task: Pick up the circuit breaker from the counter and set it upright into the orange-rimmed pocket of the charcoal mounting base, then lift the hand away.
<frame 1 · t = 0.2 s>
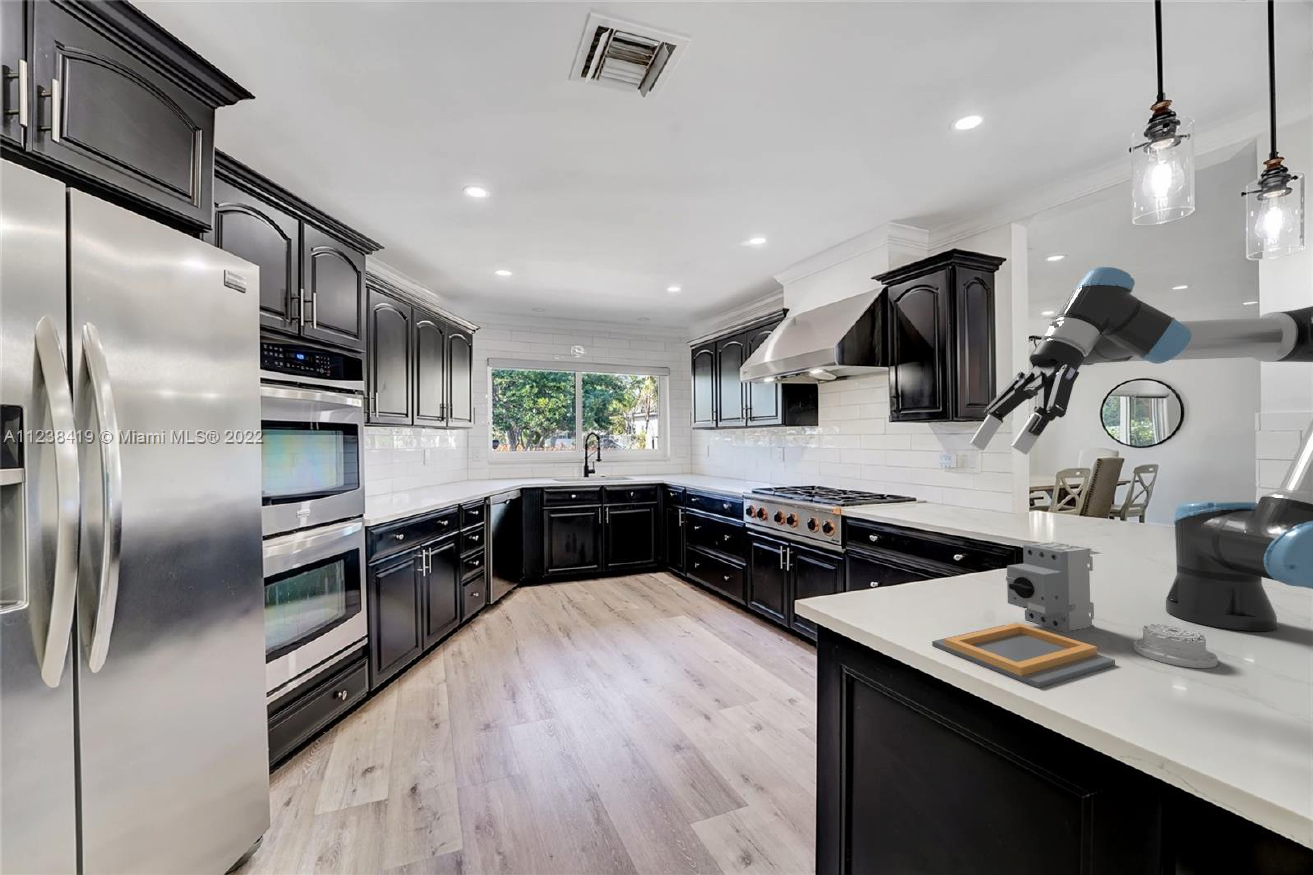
hand: (996, 448, 98), 35 cm above the counter, tool tilted 35°, fingers open, 13 cm apart
mechanical component: (1174, 658, 89), on the counter
circuit breaker: (1047, 626, 104), on the counter
mounting base: (1019, 654, 91), on the counter
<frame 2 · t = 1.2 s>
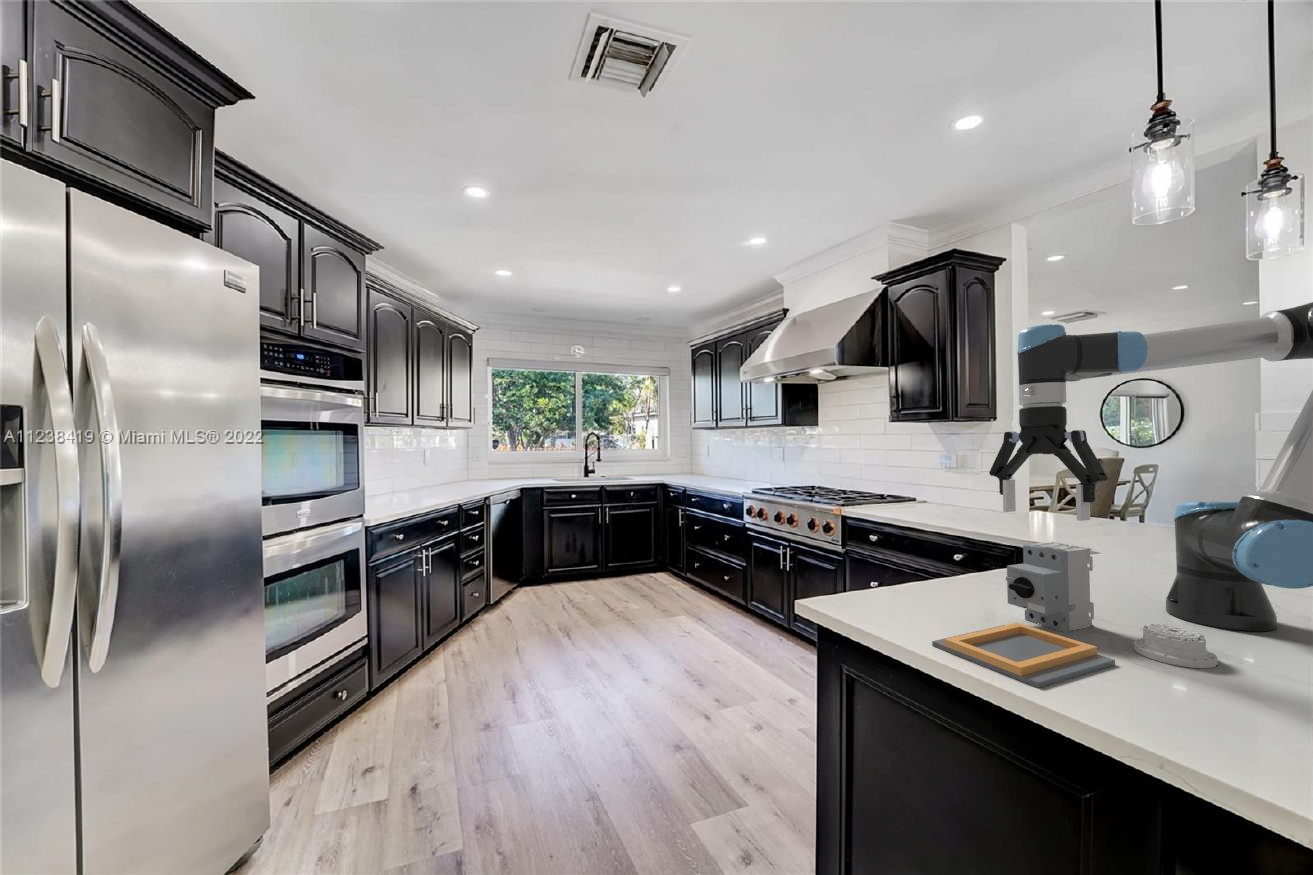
hand: (1044, 515, 104), 21 cm above the counter, tool pointing down, fingers open, 13 cm apart
nothing on the counter moved.
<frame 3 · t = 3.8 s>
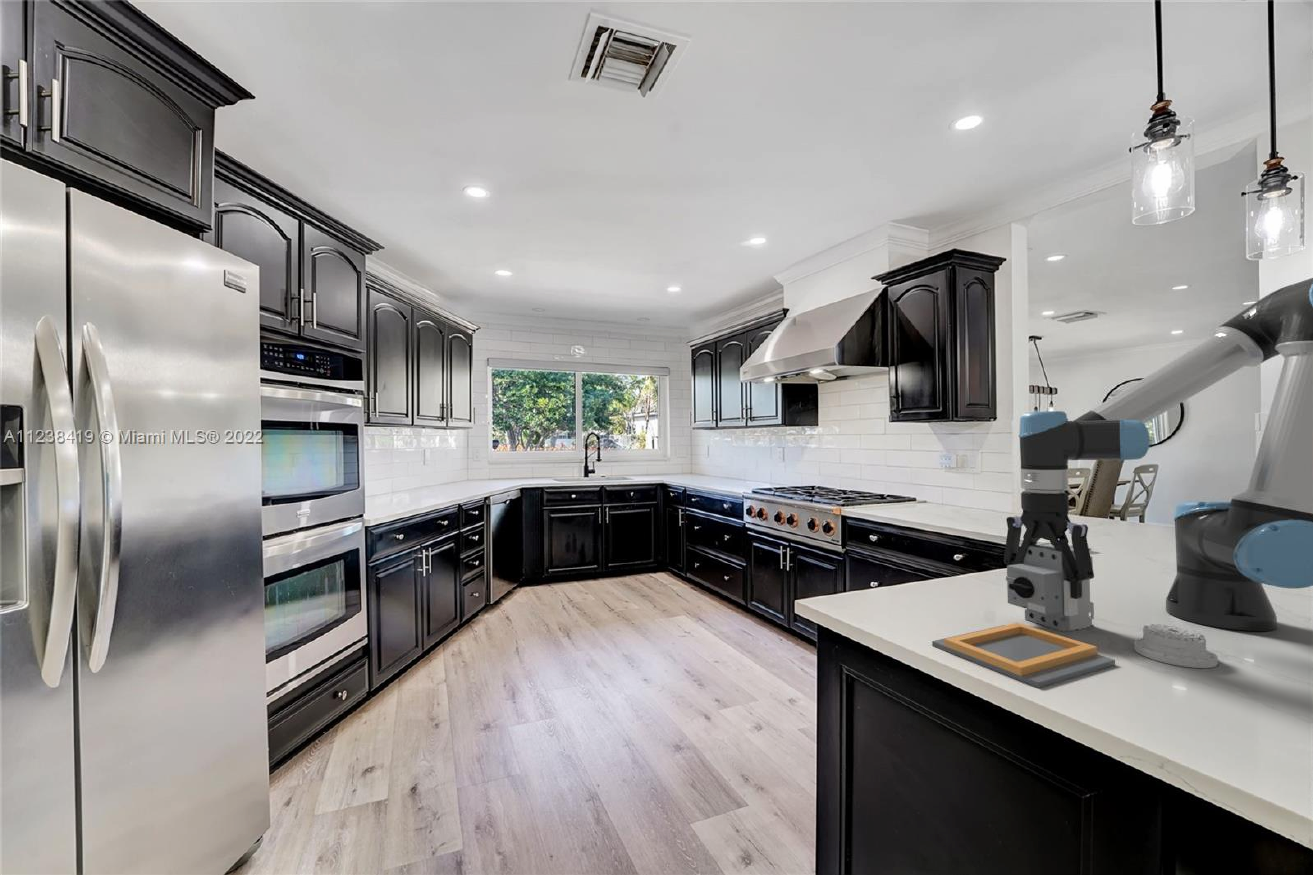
hand: (1046, 608, 104), 3 cm above the counter, tool pointing down, fingers closed on circuit breaker, 8 cm apart
circuit breaker: (1047, 626, 104), on the counter, touching gripper
everything else where it was.
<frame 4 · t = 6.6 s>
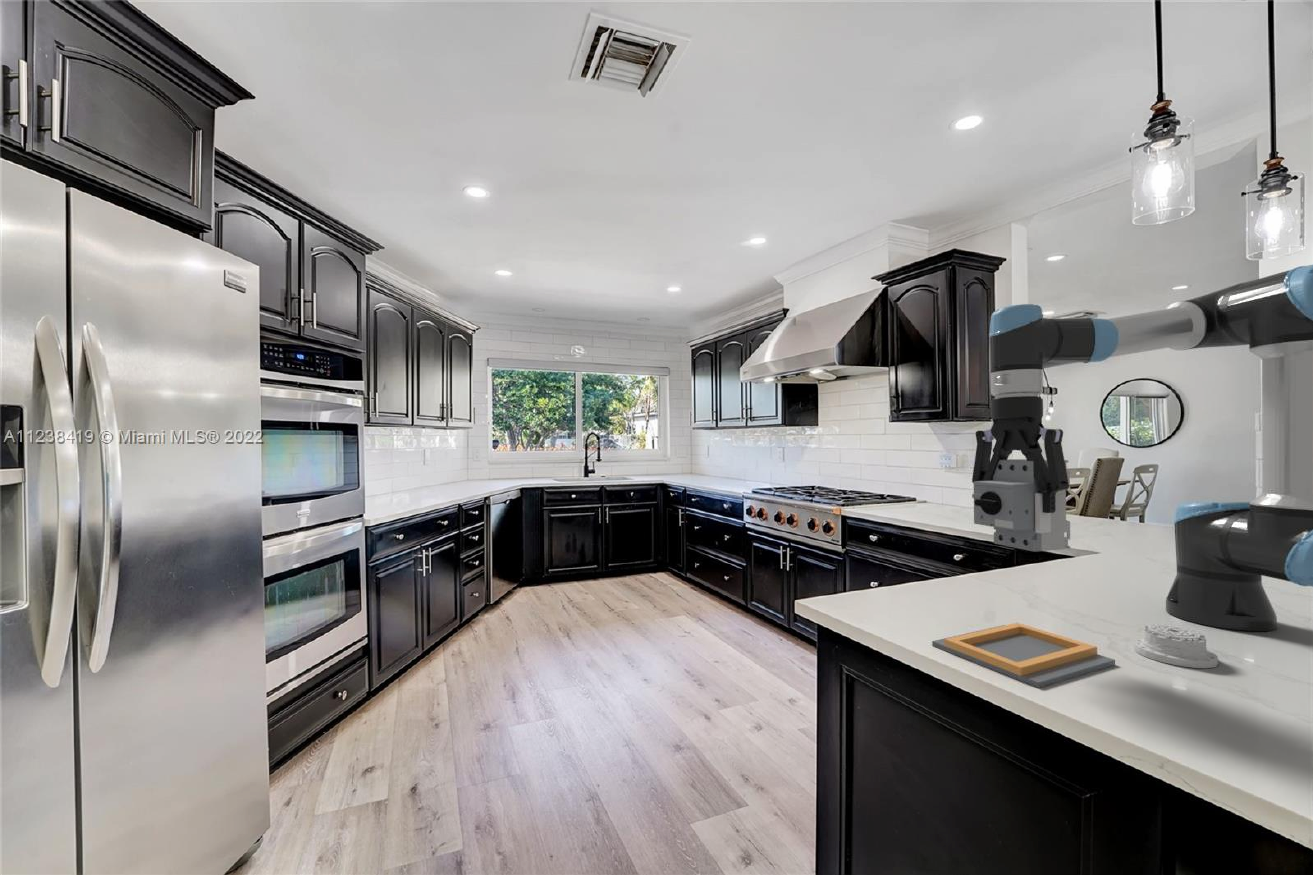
hand: (1017, 528, 93), 21 cm above the counter, tool pointing down, fingers closed on circuit breaker, 8 cm apart
circuit breaker: (1017, 548, 93), point 17 cm above the counter, touching gripper
everything else where it was.
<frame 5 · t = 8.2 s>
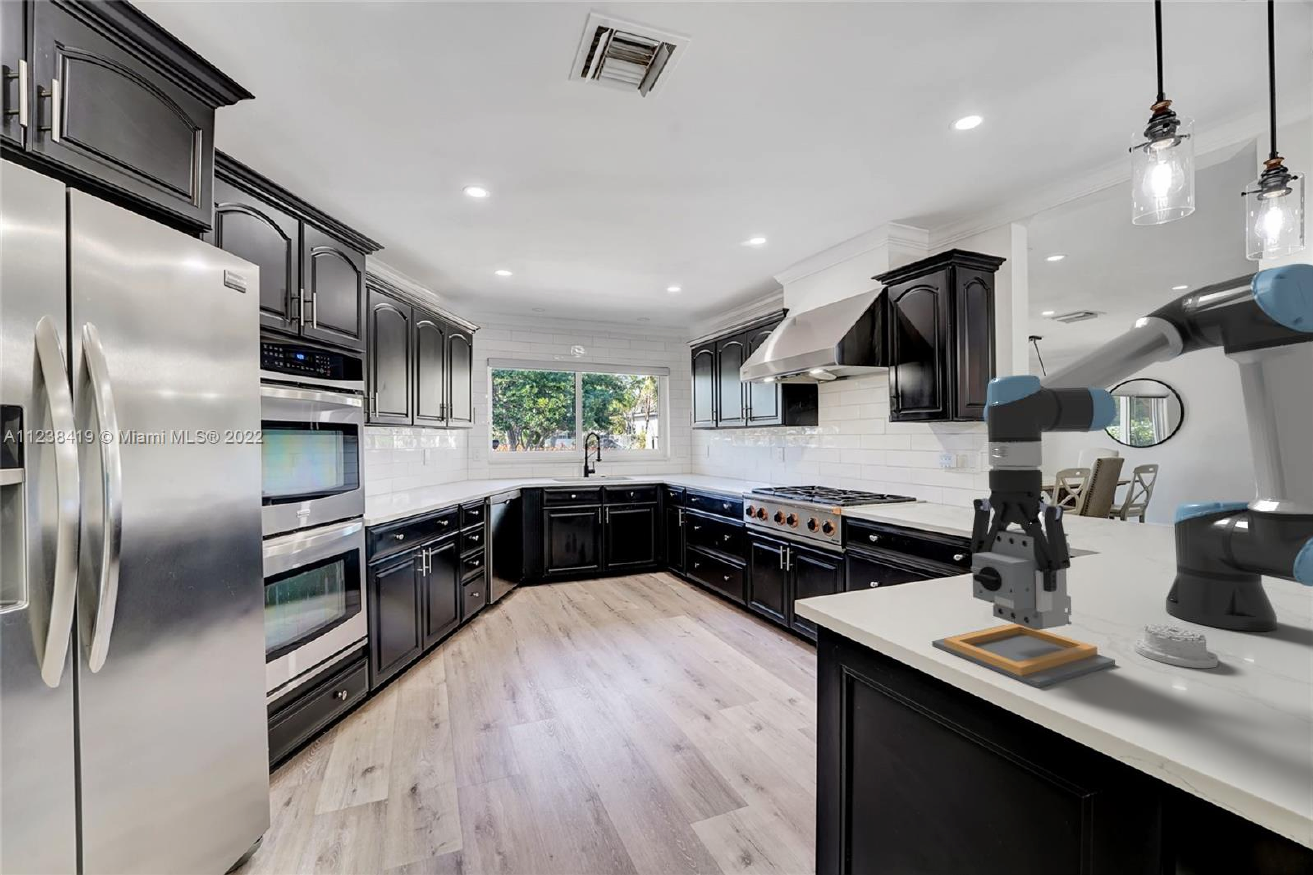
hand: (1017, 603, 91), 9 cm above the counter, tool pointing down, fingers closed on circuit breaker, 8 cm apart
circuit breaker: (1017, 623, 91), point 5 cm above the counter, touching gripper
everything else where it was.
when the fingers open (6 cm above the counter, at t = 9.6 s): circuit breaker drops 2 cm, resting on mounting base.
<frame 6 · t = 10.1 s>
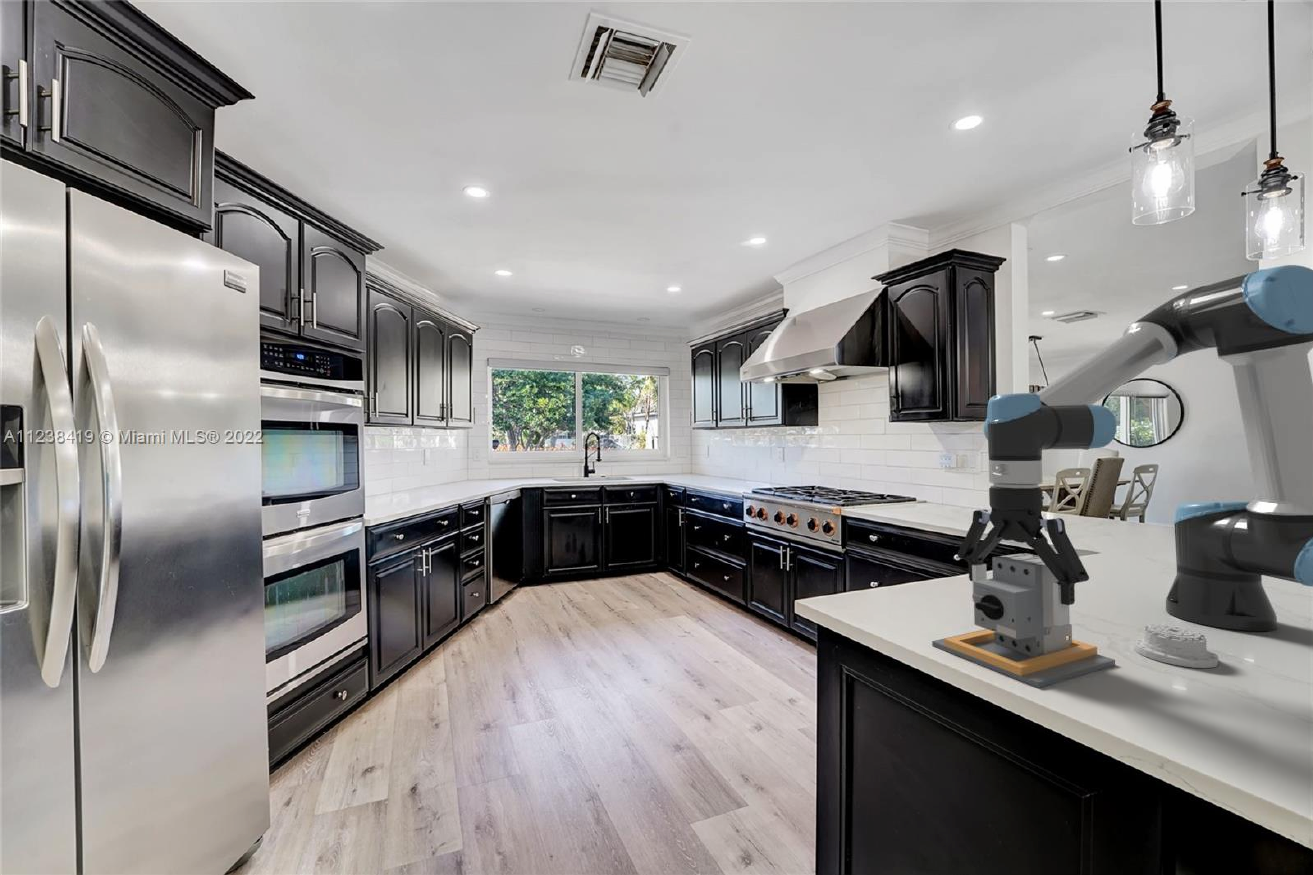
hand: (1018, 611, 91), 7 cm above the counter, tool pointing down, fingers open, 13 cm apart
circuit breaker: (1019, 651, 90), point 1 cm above the counter, touching mounting base
everything else where it was.
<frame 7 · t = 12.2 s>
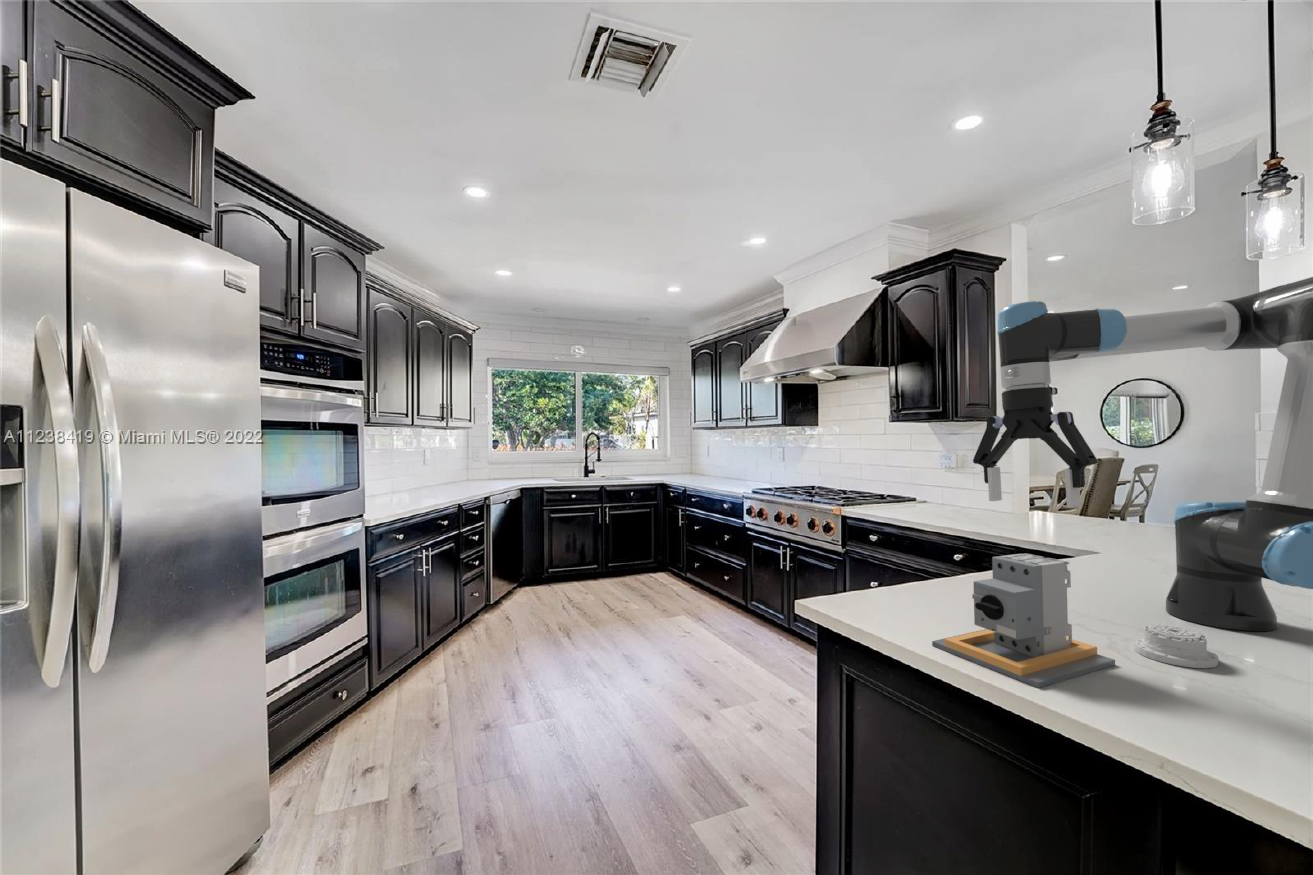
hand: (1032, 503, 99), 24 cm above the counter, tool pointing down, fingers open, 13 cm apart
nothing on the counter moved.
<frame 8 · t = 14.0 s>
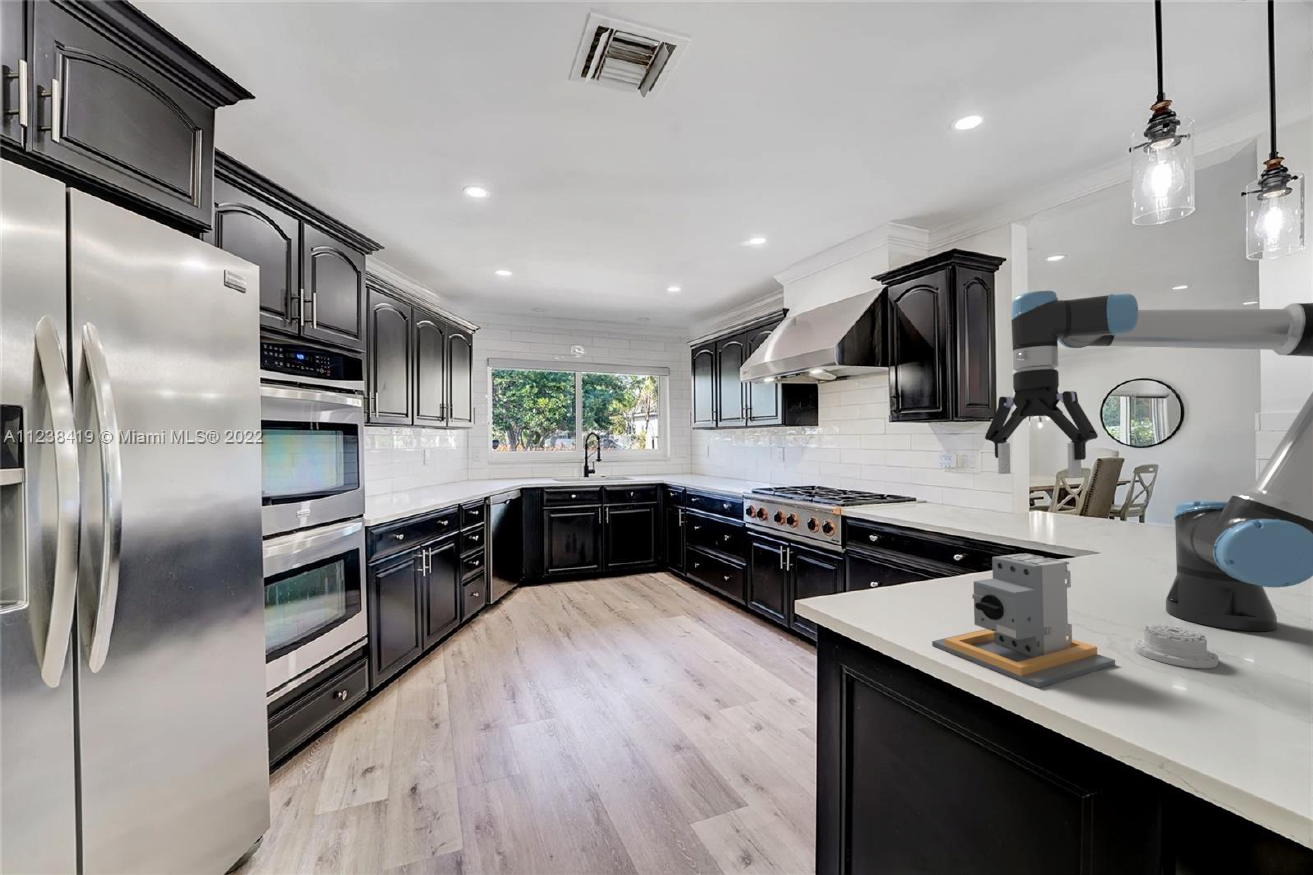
hand: (1037, 475, 108), 29 cm above the counter, tool pointing down, fingers open, 13 cm apart
nothing on the counter moved.
at the end: circuit breaker 0.1 cm off-centre on the mounting base, point 0.6 cm above the mounting base's base; circuit breaker tilted 0°; the gripper is holding nothing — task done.
